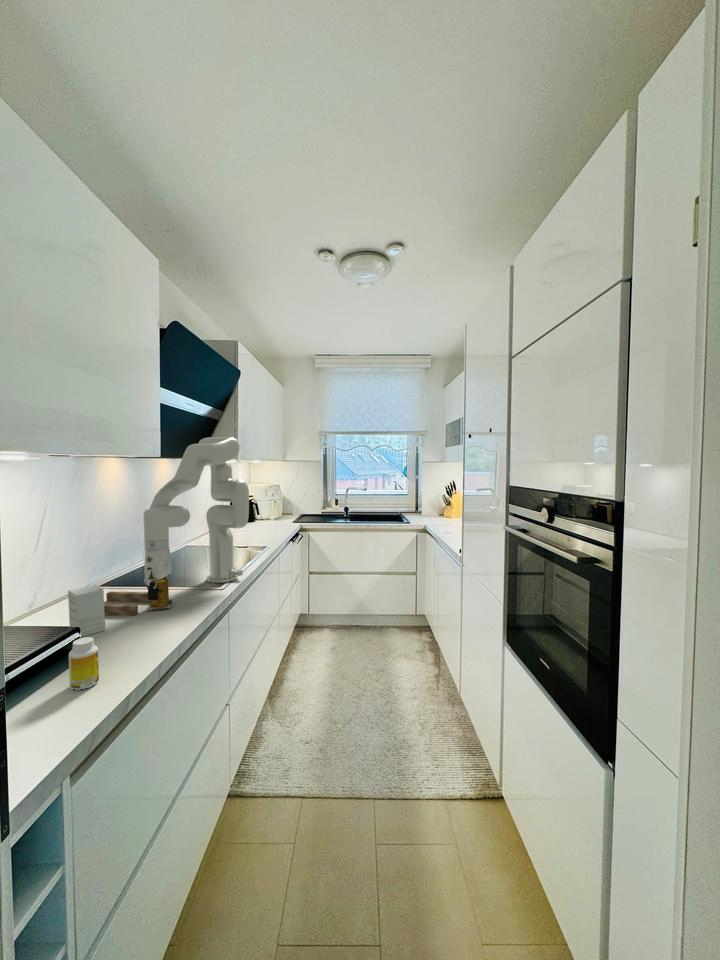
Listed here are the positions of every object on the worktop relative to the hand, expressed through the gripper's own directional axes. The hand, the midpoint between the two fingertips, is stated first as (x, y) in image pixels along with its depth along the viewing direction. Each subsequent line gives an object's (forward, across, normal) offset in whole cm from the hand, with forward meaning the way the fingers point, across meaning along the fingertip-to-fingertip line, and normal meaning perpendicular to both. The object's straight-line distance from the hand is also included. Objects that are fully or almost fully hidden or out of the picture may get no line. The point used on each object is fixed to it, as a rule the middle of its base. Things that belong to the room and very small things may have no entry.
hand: (158, 596), depth 145 cm
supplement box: (+4, -20, +11) cm, 23 cm away
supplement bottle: (+4, -49, -9) cm, 50 cm away
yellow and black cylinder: (+4, +1, 0) cm, 4 cm away
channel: (+4, 0, +13) cm, 14 cm away
